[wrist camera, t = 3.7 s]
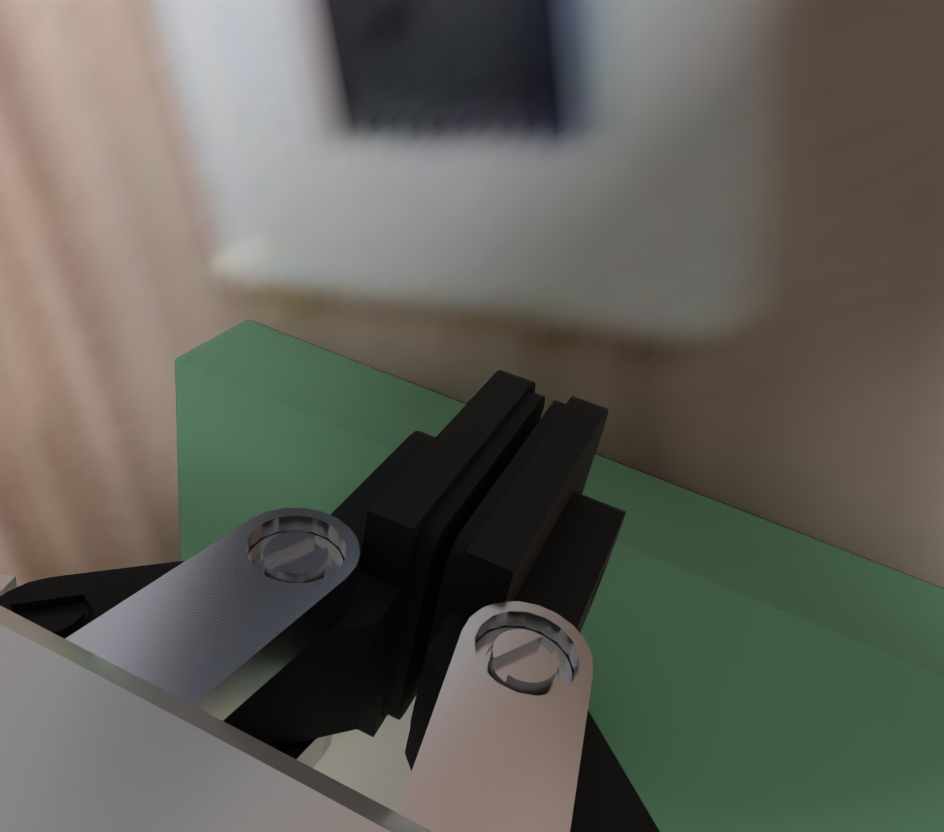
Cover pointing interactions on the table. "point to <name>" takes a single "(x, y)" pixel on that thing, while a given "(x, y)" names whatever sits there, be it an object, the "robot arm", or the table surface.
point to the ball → (372, 760)
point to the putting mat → (631, 605)
